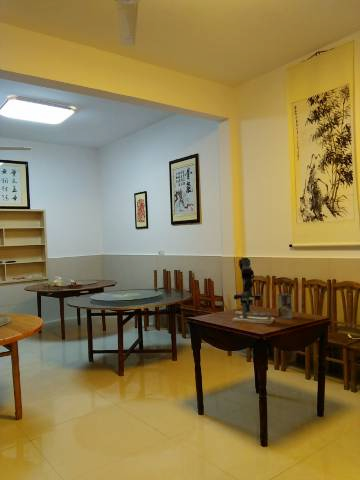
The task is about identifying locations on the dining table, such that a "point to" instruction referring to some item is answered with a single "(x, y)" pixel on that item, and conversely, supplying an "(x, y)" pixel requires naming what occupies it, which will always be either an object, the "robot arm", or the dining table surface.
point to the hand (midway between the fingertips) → (248, 309)
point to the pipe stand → (253, 319)
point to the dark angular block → (244, 311)
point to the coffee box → (285, 305)
